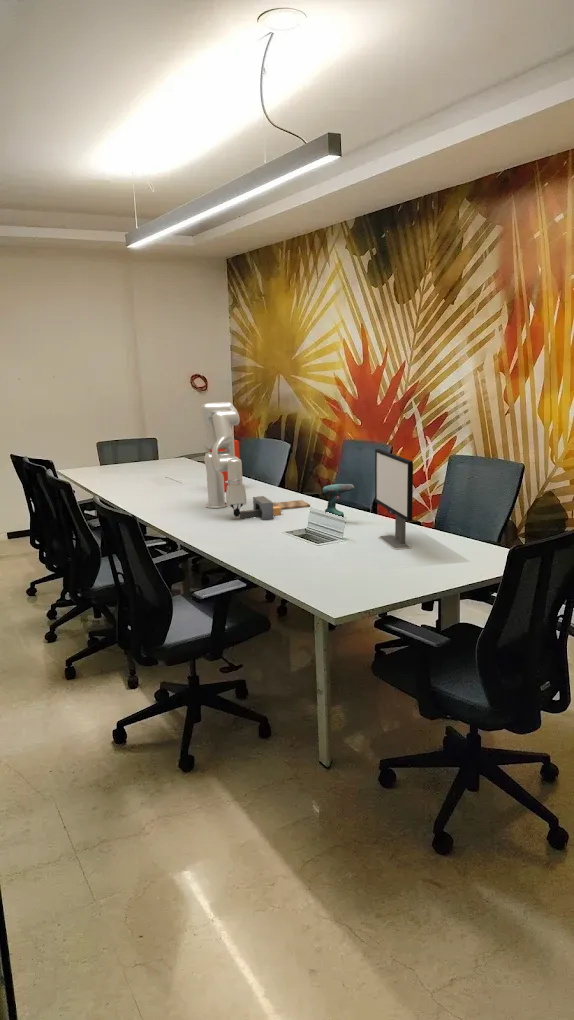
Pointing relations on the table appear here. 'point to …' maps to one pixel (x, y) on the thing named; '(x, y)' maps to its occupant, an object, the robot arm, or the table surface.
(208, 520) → the table surface
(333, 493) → the power drill
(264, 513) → the grey slotted block
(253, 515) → the grey and orange bar
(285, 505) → the pad
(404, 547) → the computer monitor
